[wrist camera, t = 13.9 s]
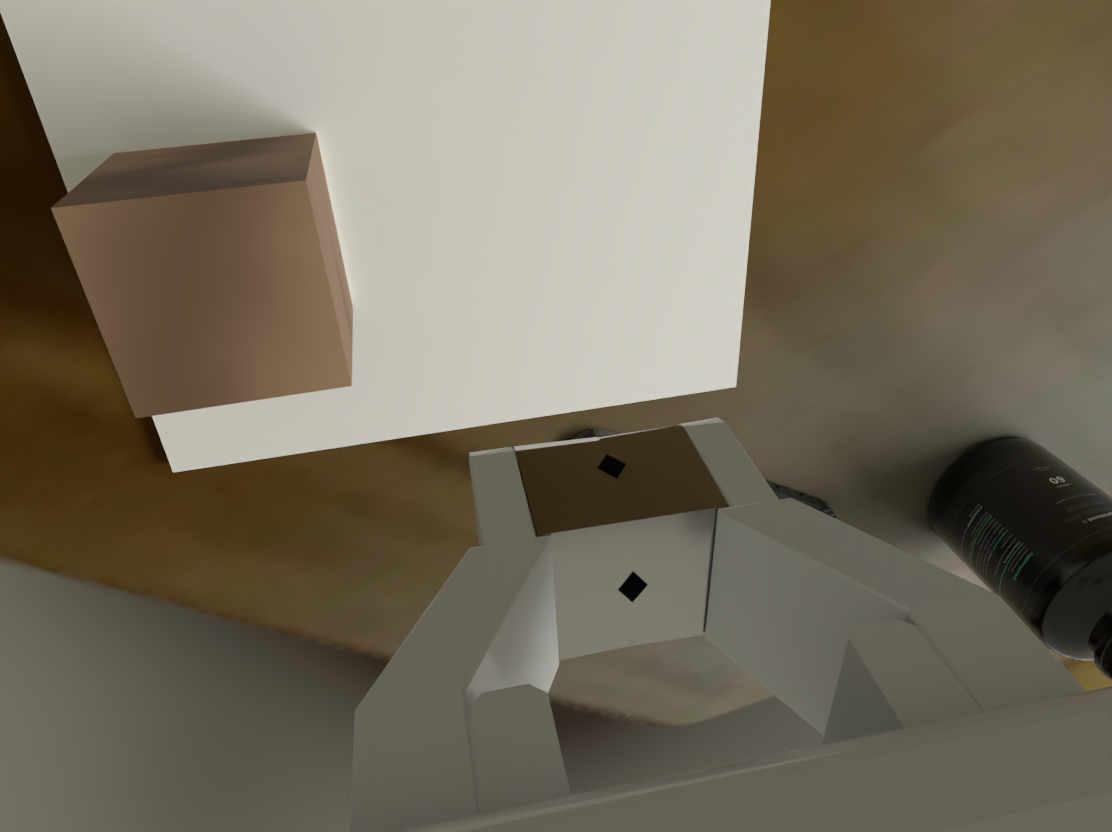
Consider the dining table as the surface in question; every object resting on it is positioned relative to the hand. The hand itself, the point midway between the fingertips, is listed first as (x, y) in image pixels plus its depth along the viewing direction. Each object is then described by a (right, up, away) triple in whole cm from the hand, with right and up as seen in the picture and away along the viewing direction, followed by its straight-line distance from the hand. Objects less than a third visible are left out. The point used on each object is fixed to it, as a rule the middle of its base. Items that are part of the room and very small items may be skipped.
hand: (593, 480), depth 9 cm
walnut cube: (-10, +4, +12) cm, 15 cm away
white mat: (-4, +8, +18) cm, 21 cm away
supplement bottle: (+22, -3, +32) cm, 39 cm away
